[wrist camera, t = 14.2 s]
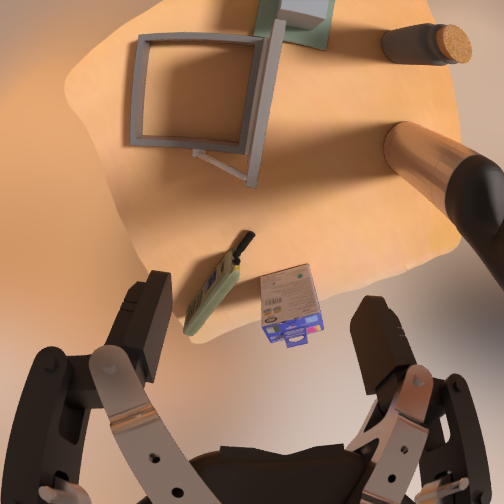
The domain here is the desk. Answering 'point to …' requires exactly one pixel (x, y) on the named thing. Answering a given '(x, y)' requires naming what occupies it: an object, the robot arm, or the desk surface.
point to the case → (255, 101)
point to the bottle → (427, 45)
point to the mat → (292, 34)
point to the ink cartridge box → (290, 305)
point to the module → (302, 12)
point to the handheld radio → (215, 288)
